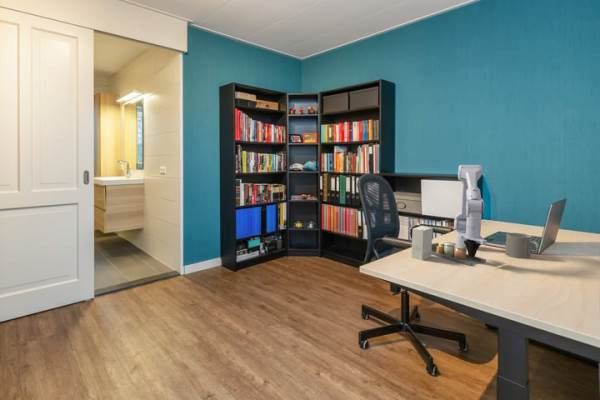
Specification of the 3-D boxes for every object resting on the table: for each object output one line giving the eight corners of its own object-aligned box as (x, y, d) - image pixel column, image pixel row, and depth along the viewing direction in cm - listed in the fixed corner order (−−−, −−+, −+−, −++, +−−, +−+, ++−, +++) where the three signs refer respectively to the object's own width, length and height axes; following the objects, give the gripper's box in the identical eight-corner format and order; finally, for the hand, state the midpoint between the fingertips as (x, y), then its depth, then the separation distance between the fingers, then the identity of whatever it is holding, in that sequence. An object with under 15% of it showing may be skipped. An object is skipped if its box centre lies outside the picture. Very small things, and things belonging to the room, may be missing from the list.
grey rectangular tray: (437, 249, 171) (437, 242, 170) (486, 263, 148) (487, 255, 148) (421, 252, 165) (421, 245, 164) (469, 267, 142) (470, 259, 142)
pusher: (447, 252, 163) (448, 242, 163) (449, 252, 162) (450, 243, 162) (436, 254, 159) (436, 244, 159) (438, 255, 158) (438, 245, 158)
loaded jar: (447, 253, 161) (448, 241, 160) (457, 256, 157) (458, 244, 156) (441, 255, 158) (441, 243, 158) (450, 257, 154) (451, 245, 153)
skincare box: (420, 255, 160) (421, 225, 158) (432, 258, 155) (433, 227, 153) (410, 259, 154) (411, 227, 153) (422, 262, 150) (423, 229, 148)
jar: (458, 256, 156) (459, 244, 156) (468, 259, 152) (469, 246, 151) (451, 257, 154) (452, 245, 153) (461, 260, 149) (462, 248, 149)
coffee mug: (500, 254, 162) (501, 233, 161) (514, 251, 166) (515, 232, 165) (528, 261, 150) (530, 240, 149) (542, 258, 154) (544, 237, 153)
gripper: (493, 229, 140) (491, 261, 141) (470, 223, 154) (468, 251, 155) (479, 230, 138) (477, 262, 140) (456, 224, 153) (455, 252, 154)
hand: (471, 256), depth 148 cm, fingers closed
